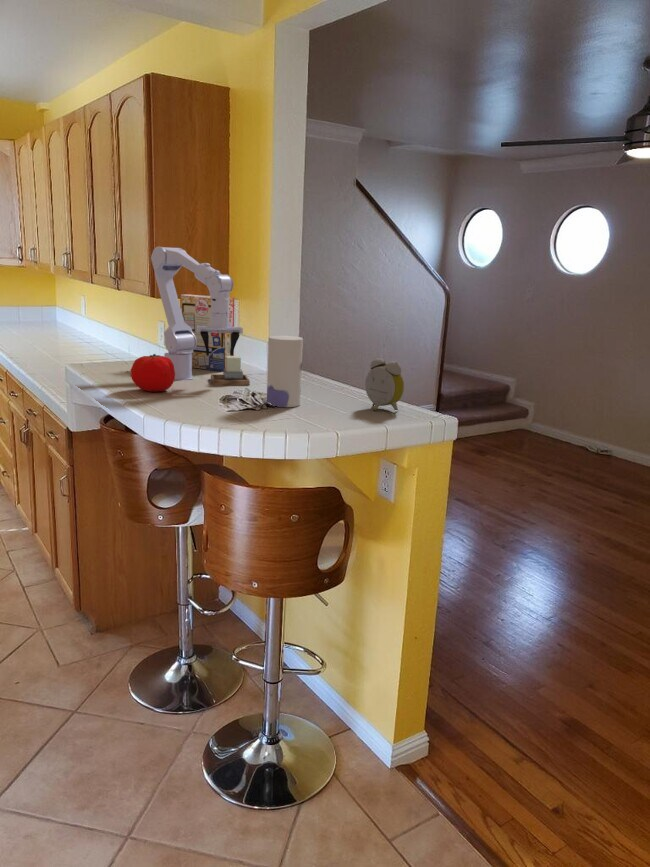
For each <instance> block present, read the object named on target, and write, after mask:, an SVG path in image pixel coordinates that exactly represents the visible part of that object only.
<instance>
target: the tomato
mask: <svg viewBox="0 0 650 867" xmlns="http://www.w3.org/2000/svg"><path fill="white" fill-rule="evenodd" d="M165 356H167V355H165ZM131 365H132V366H131V369H130V377H131V380H132V383H134V385H135V386H136V387H138V388H139V389H140V390H142V391H147V392H162V391H167V390H169V389H170V388H171V387H172V385H173V384H174V382H175V381H176V380H175V370H174V365H173V363H172V361H171V360H170V359H169V358H167V357H164V355H159V354H156V353H153V354H150V355H143V356H140V357H138V358H136V359H134V362H133V363H132V364H131Z"/></svg>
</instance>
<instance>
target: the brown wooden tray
mask: <svg viewBox="0 0 650 867" xmlns="http://www.w3.org/2000/svg"><path fill="white" fill-rule="evenodd" d="M210 380H211V383H212V385H213V386H248V387H249V386H251V385H250V379H249V377H248V376H247V374H243V380H223V373H222V374H216V373H215V374H214V373H213V374H212V373H211V374H210Z"/></svg>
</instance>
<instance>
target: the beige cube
mask: <svg viewBox="0 0 650 867" xmlns="http://www.w3.org/2000/svg"><path fill="white" fill-rule="evenodd" d="M241 361H242V359H241V357H240V355H234V356H226V370H227V371H240V369H241V365H242V364H241Z"/></svg>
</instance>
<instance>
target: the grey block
mask: <svg viewBox="0 0 650 867" xmlns="http://www.w3.org/2000/svg"><path fill="white" fill-rule="evenodd" d="M222 374H223V380H243V375H244V371H243V370H242V369H241V368H240V371H227V370H226V369H223V371H222Z"/></svg>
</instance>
